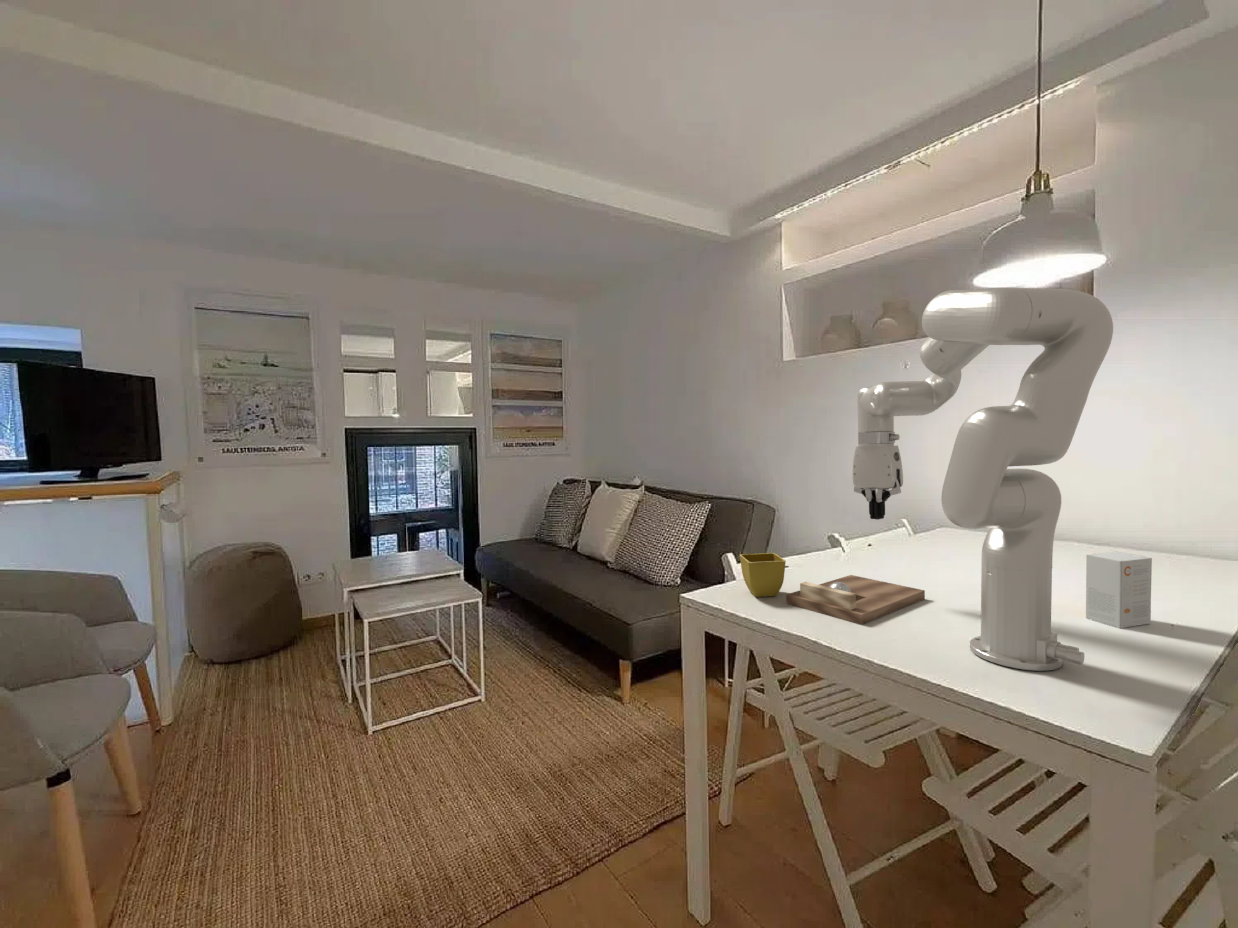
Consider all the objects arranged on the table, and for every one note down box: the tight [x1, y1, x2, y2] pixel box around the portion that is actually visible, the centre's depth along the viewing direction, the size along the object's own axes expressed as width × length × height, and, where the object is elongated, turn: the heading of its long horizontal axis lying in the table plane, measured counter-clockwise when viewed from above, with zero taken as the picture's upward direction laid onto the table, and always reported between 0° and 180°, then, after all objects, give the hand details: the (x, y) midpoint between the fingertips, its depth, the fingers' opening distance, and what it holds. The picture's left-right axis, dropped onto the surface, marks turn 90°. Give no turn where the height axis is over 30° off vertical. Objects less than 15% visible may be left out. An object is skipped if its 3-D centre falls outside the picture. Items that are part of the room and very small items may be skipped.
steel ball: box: [829, 582, 851, 592], centre depth 120 cm, size 5×5×5 cm
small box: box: [1085, 551, 1153, 629], centre depth 105 cm, size 8×6×13 cm
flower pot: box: [739, 552, 787, 598], centre depth 129 cm, size 9×9×9 cm
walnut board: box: [785, 574, 926, 625], centre depth 122 cm, size 18×26×5 cm
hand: (877, 518), depth 125 cm, fingers closed
